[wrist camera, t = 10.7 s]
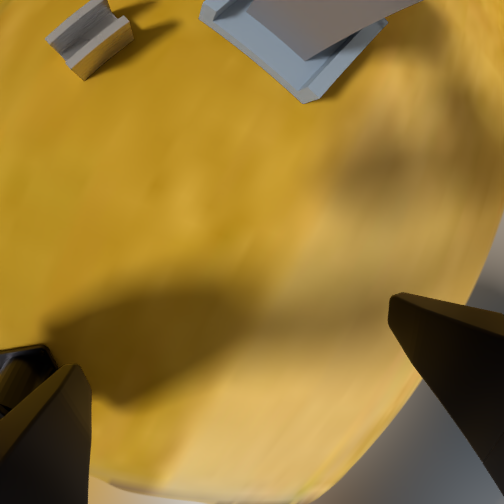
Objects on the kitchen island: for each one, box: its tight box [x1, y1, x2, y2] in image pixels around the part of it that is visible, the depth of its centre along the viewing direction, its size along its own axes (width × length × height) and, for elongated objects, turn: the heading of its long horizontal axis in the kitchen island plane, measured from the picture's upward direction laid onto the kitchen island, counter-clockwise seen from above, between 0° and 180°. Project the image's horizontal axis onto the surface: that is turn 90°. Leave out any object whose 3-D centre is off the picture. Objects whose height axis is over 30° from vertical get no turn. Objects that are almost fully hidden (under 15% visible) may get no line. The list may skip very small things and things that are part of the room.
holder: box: [199, 0, 389, 104], centre depth 16 cm, size 9×9×2 cm
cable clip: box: [45, 0, 134, 81], centre depth 13 cm, size 4×3×3 cm
